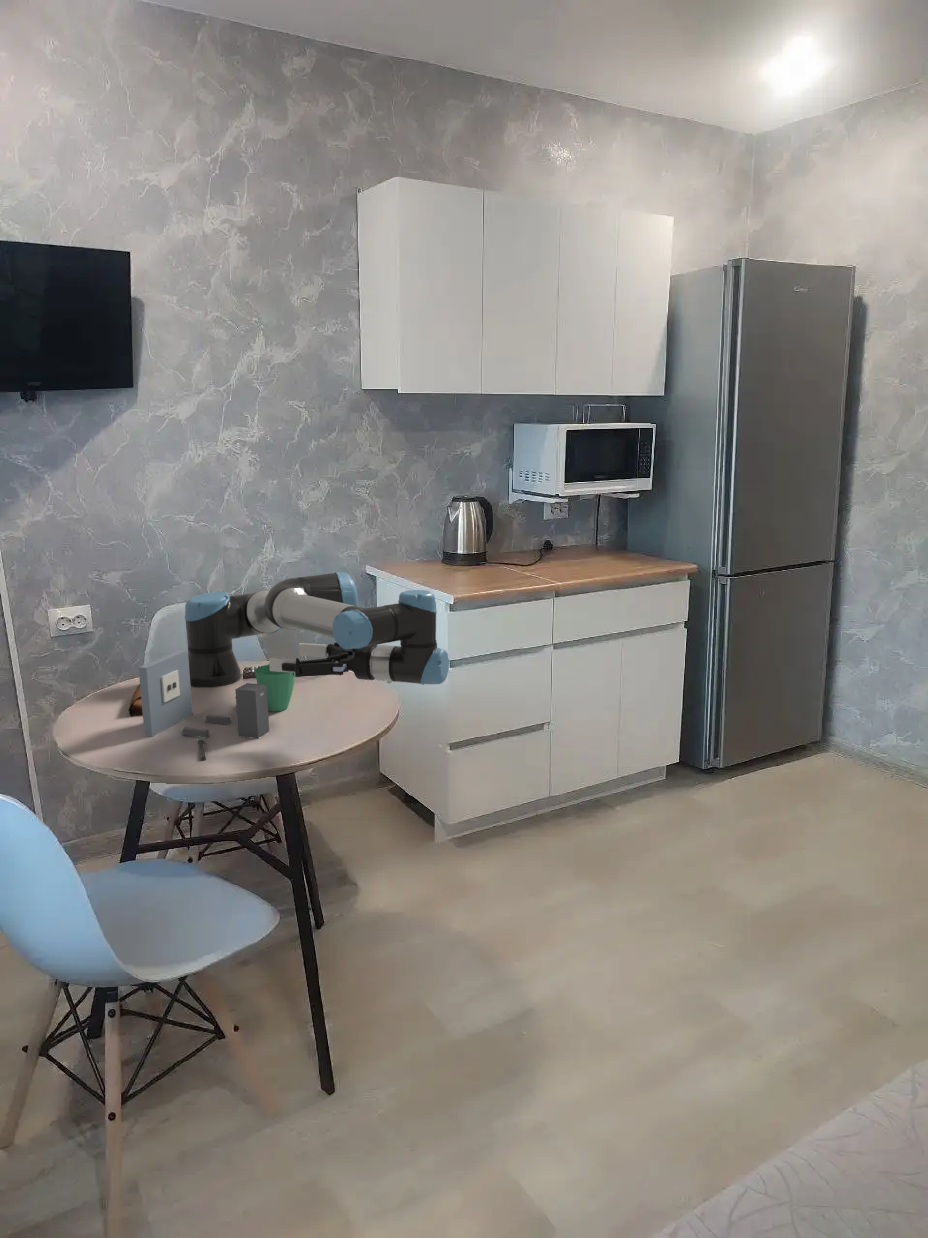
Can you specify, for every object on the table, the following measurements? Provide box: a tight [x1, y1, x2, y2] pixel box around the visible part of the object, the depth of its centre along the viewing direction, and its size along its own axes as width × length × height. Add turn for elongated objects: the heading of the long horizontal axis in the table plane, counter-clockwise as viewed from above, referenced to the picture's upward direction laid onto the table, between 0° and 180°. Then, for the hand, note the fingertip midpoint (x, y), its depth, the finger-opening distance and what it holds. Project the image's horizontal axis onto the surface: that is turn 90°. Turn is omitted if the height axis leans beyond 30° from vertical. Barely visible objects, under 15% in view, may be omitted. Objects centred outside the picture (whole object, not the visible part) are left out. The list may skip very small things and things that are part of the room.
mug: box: [254, 663, 296, 712], centre depth 224 cm, size 15×10×10 cm
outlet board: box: [138, 649, 232, 738], centre depth 207 cm, size 16×14×16 cm
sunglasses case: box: [128, 683, 143, 717], centre depth 226 cm, size 18×7×7 cm
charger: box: [234, 682, 270, 739], centre depth 204 cm, size 5×6×11 cm
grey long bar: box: [197, 737, 207, 761], centre depth 194 cm, size 12×1×1 cm, turn 18°
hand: (285, 656), depth 198 cm, fingers open, 13 cm apart
